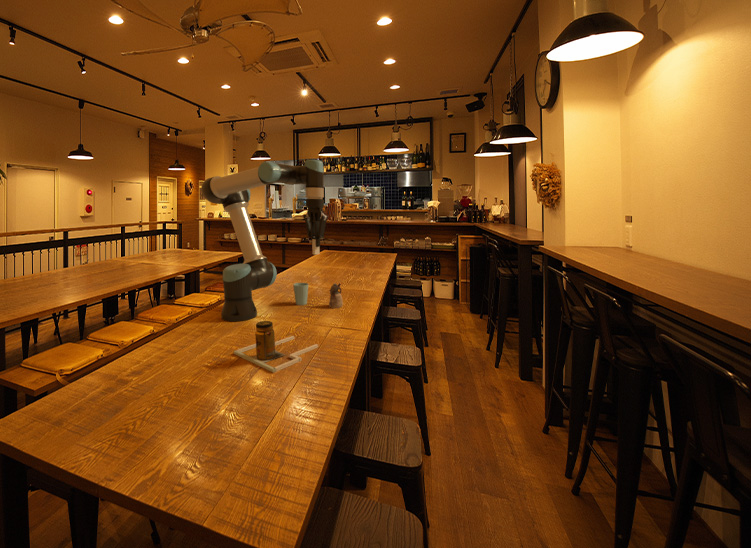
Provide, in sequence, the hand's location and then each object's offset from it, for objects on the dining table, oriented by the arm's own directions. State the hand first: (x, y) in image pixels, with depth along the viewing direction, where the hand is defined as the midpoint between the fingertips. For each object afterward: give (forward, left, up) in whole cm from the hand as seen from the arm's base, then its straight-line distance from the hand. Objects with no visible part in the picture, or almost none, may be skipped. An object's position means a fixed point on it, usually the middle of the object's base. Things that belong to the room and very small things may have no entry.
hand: (316, 254), depth 152 cm
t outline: (+17, -34, -29) cm, 48 cm away
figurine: (-8, +20, -30) cm, 37 cm away
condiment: (+17, -38, -30) cm, 51 cm away
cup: (-25, +12, -30) cm, 41 cm away
